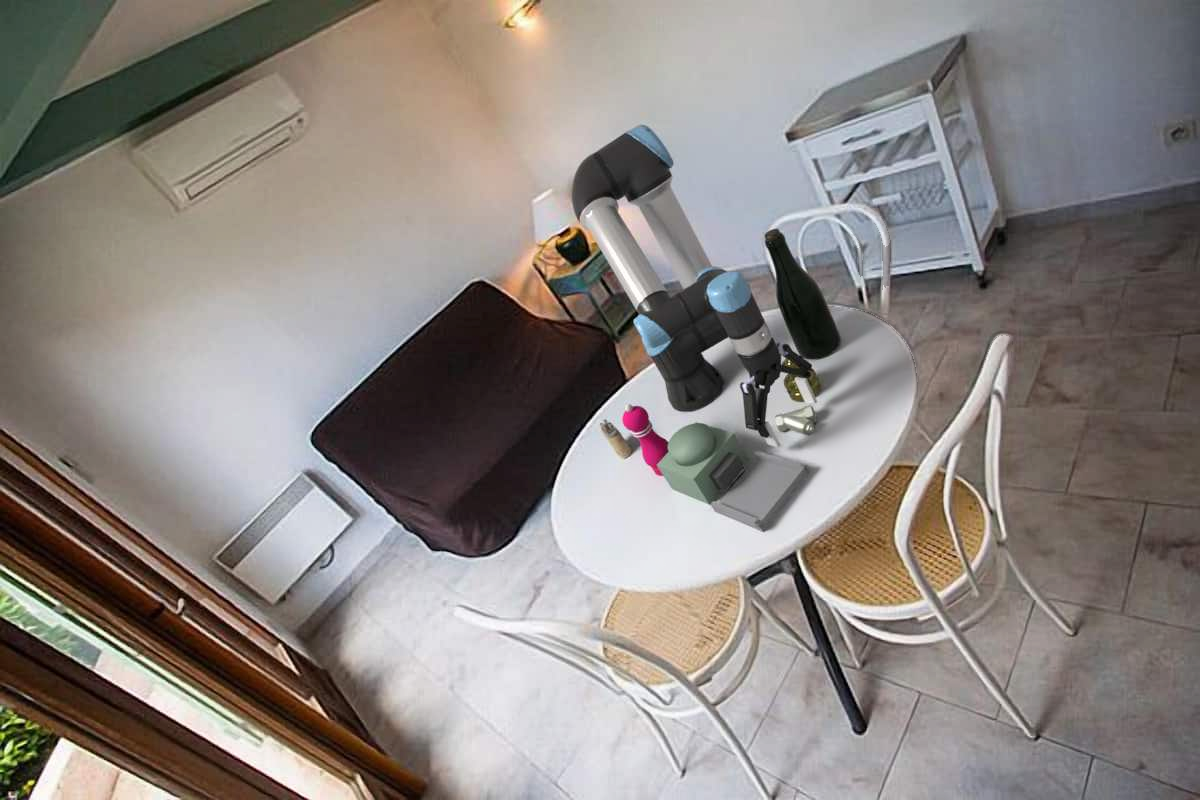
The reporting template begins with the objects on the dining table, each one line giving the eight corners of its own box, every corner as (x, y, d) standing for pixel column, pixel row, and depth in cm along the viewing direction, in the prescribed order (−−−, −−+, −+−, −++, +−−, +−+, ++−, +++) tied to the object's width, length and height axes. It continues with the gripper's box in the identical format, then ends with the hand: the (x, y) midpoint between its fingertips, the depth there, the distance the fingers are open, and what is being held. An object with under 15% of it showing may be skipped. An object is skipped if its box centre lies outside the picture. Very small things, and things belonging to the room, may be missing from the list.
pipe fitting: (819, 435, 135) (815, 413, 140) (814, 423, 133) (810, 401, 138) (782, 445, 139) (780, 424, 144) (776, 434, 137) (773, 412, 142)
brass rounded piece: (828, 384, 146) (814, 350, 141) (808, 405, 143) (793, 372, 139) (803, 378, 152) (788, 345, 147) (783, 399, 150) (767, 366, 145)
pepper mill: (682, 452, 154) (644, 390, 144) (677, 474, 148) (637, 412, 139) (656, 458, 157) (616, 398, 148) (650, 480, 152) (609, 419, 142)
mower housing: (672, 489, 145) (650, 455, 140) (710, 446, 150) (690, 412, 145) (717, 508, 134) (695, 472, 128) (757, 461, 138) (737, 424, 133)
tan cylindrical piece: (613, 449, 170) (594, 422, 165) (624, 440, 170) (606, 413, 165) (623, 460, 163) (604, 433, 158) (635, 451, 164) (616, 423, 159)
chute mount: (714, 511, 133) (710, 504, 132) (760, 457, 138) (756, 450, 137) (762, 532, 123) (758, 524, 122) (810, 472, 128) (806, 465, 127)
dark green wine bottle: (849, 333, 156) (802, 214, 140) (831, 361, 151) (781, 242, 135) (810, 334, 164) (762, 222, 148) (791, 361, 159) (740, 248, 143)
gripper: (729, 388, 120) (772, 467, 129) (805, 306, 128) (840, 386, 138) (702, 383, 126) (744, 459, 136) (776, 305, 134) (811, 382, 144)
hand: (792, 423), depth 137 cm, fingers open, 13 cm apart
